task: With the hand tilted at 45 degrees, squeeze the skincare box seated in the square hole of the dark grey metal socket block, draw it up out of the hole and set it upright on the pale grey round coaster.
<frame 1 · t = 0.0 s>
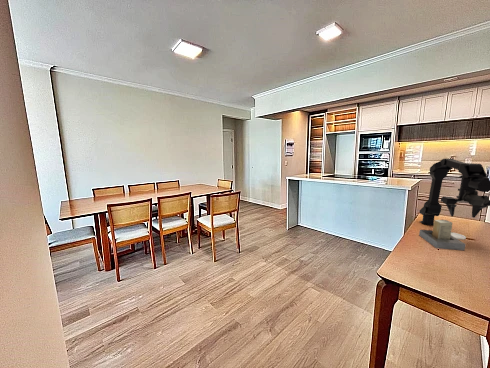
hand: (462, 216, 111), 15 cm above the table, tool pointing down, fingers open, 9 cm apart
coaster: (454, 236, 122), on the table
skincare box: (439, 242, 114), resting in socket block
socket block: (439, 242, 114), on the table
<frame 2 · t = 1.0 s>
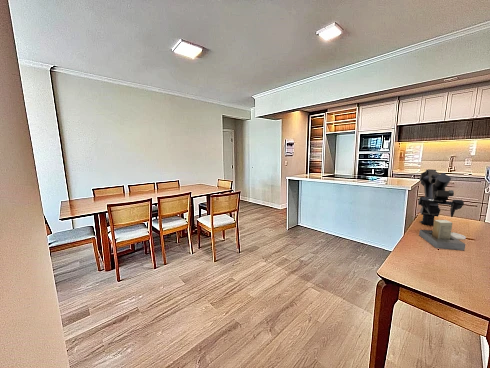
hand: (440, 215, 117), 13 cm above the table, tool tilted 45°, fingers open, 9 cm apart
nothing on the table moved.
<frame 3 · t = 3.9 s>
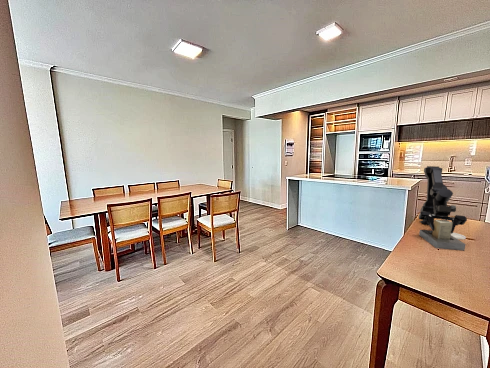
hand: (442, 231, 112), 7 cm above the table, tool tilted 45°, fingers closed on skincare box, 7 cm apart
skincare box: (439, 242, 114), resting in socket block, touching gripper
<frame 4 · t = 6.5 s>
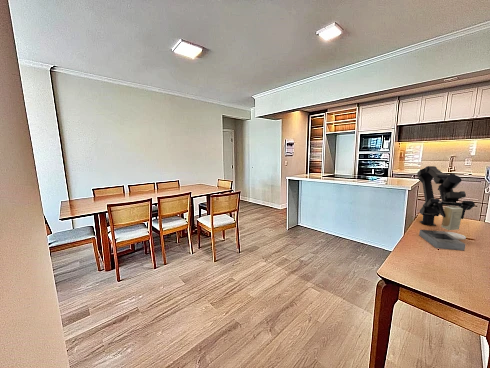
hand: (453, 217, 112), 14 cm above the table, tool tilted 45°, fingers closed on skincare box, 7 cm apart
skincare box: (449, 228, 115), point 7 cm above the table, touching gripper
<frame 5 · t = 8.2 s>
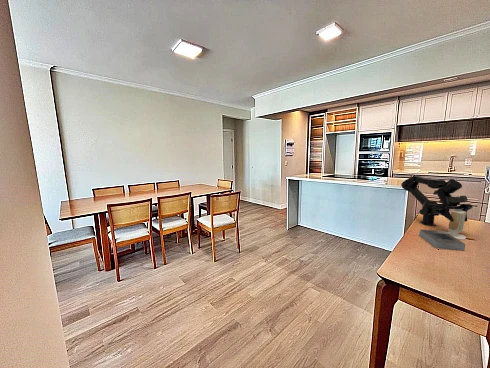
hand: (459, 221, 119), 9 cm above the table, tool tilted 45°, fingers closed on skincare box, 7 cm apart
skincare box: (454, 231, 121), point 3 cm above the table, touching gripper
when the fingers open (8 cm above the table, at t = 9.4 s): skincare box drops 1 cm, resting on coaster.
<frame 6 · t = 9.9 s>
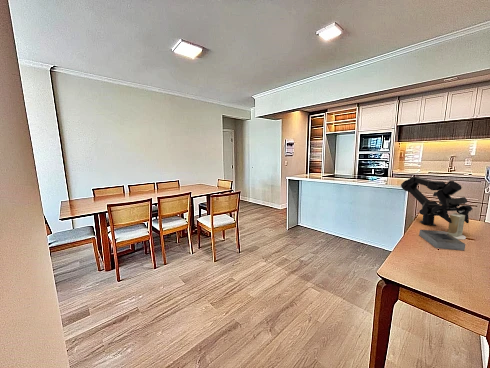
hand: (459, 222, 119), 9 cm above the table, tool tilted 45°, fingers open, 9 cm apart
skincare box: (454, 235, 122), resting on coaster
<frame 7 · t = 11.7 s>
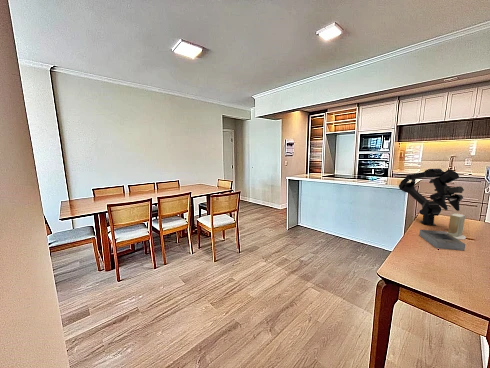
hand: (452, 210, 124), 14 cm above the table, tool tilted 35°, fingers open, 9 cm apart
nothing on the table moved.
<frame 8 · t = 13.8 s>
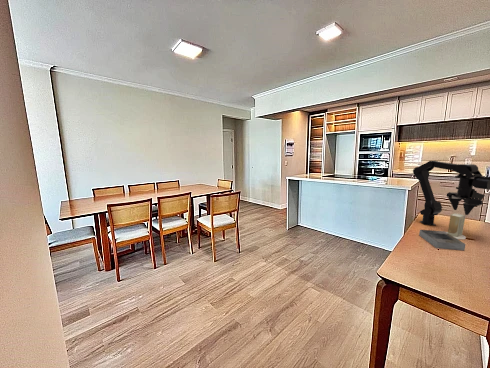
hand: (460, 212, 123), 13 cm above the table, tool pointing down, fingers open, 9 cm apart
nothing on the table moved.
at the end: skincare box 0.1 cm off-centre on the coaster, point 0.4 cm above the coaster's base; skincare box tilted 0°; the gripper is holding nothing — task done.
